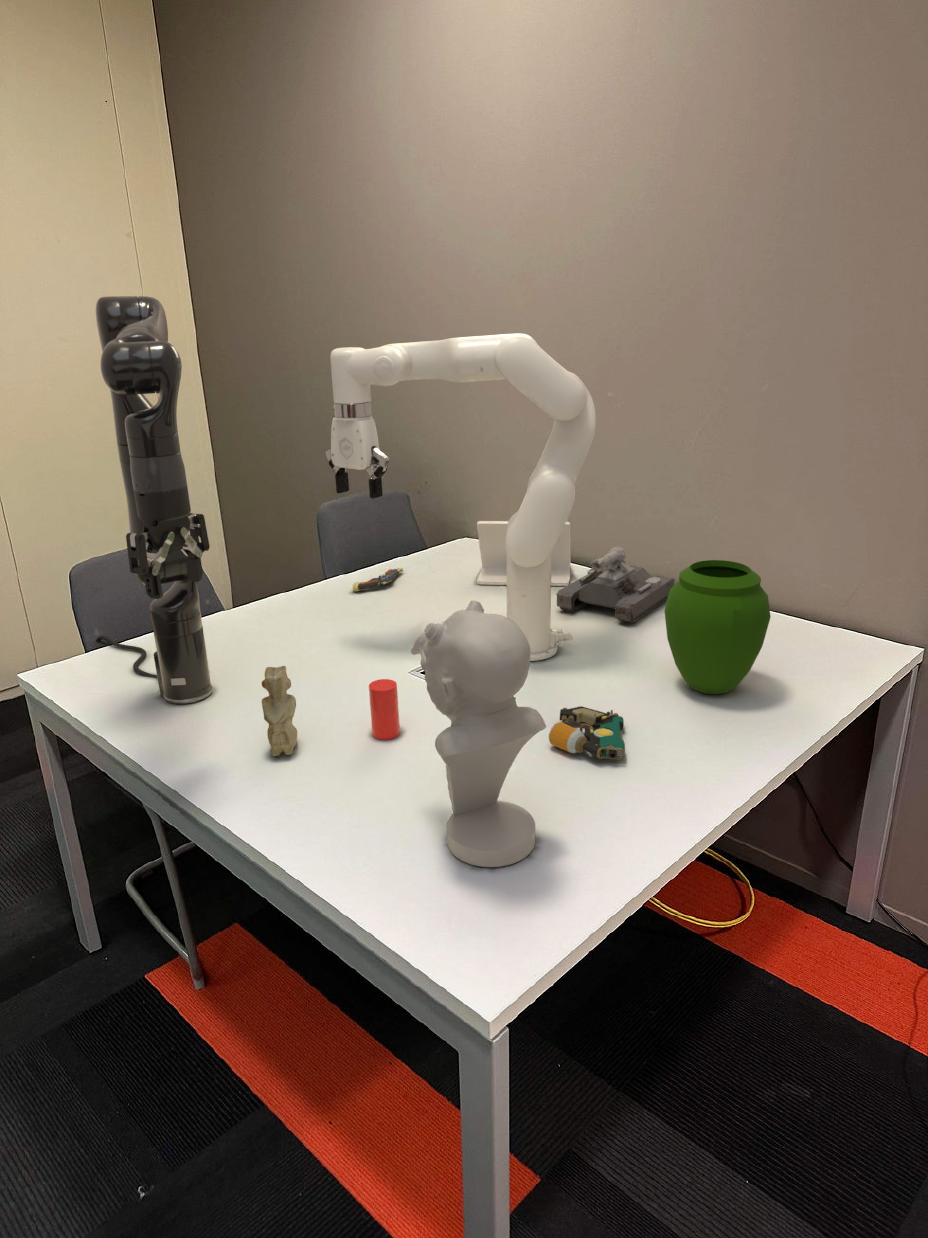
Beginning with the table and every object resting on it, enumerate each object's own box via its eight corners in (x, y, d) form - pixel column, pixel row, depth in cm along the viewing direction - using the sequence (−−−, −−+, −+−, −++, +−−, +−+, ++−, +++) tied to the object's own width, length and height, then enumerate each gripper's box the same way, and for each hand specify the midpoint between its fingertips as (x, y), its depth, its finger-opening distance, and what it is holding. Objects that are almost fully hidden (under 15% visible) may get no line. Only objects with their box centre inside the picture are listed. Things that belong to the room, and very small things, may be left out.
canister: (393, 741, 152) (389, 692, 148) (367, 737, 153) (363, 689, 150) (404, 728, 156) (401, 680, 152) (379, 725, 158) (376, 677, 154)
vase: (773, 678, 171) (786, 561, 163) (746, 717, 156) (759, 591, 147) (679, 659, 181) (686, 549, 173) (645, 694, 166) (651, 575, 157)
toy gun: (349, 584, 228) (385, 580, 226) (370, 567, 246) (403, 564, 244) (351, 593, 229) (387, 590, 227) (371, 576, 246) (404, 573, 244)
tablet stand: (569, 585, 229) (570, 524, 223) (476, 584, 232) (475, 523, 226) (570, 566, 246) (571, 508, 240) (484, 564, 249) (483, 507, 243)
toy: (603, 584, 229) (605, 530, 224) (673, 597, 218) (677, 540, 213) (555, 612, 210) (556, 553, 205) (630, 627, 199) (633, 566, 194)
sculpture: (303, 738, 153) (295, 661, 148) (297, 758, 146) (289, 679, 141) (270, 740, 153) (261, 663, 148) (263, 760, 146) (253, 680, 141)
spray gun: (565, 715, 160) (645, 732, 154) (534, 751, 146) (620, 771, 140) (567, 694, 159) (647, 710, 153) (536, 729, 144) (623, 748, 138)
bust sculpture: (481, 772, 140) (476, 569, 128) (565, 848, 120) (569, 617, 108) (392, 800, 134) (378, 588, 121) (465, 886, 114) (457, 642, 101)
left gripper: (175, 473, 133) (189, 573, 138) (103, 492, 121) (122, 601, 126) (213, 476, 129) (226, 578, 135) (143, 496, 117) (161, 607, 123)
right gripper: (310, 411, 175) (317, 493, 181) (371, 416, 165) (377, 503, 171) (336, 407, 180) (343, 487, 186) (397, 411, 170) (402, 495, 176)
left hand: (176, 589), depth 131 cm, fingers open, 8 cm apart
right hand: (359, 494), depth 179 cm, fingers open, 9 cm apart
